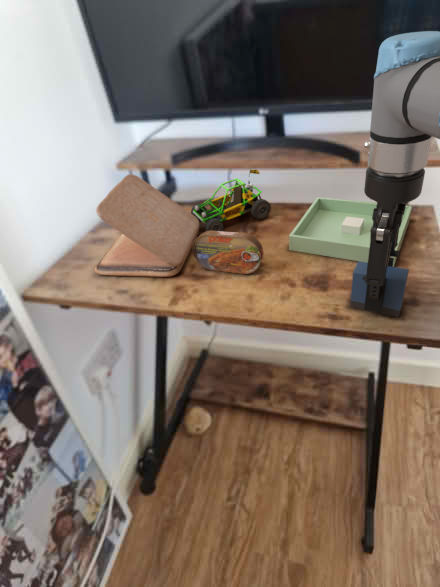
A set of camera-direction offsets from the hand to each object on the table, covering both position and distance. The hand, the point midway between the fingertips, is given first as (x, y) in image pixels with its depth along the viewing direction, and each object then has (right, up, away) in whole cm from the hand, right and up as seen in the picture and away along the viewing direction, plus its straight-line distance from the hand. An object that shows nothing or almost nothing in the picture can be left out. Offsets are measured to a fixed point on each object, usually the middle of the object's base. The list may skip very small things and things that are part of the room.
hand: (376, 298), depth 69 cm
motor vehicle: (-24, +20, +34) cm, 46 cm away
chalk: (+3, +15, +21) cm, 26 cm away
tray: (+2, +14, +20) cm, 25 cm away
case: (-43, +10, +25) cm, 51 cm away
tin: (-25, +6, +16) cm, 30 cm away
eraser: (0, -1, +1) cm, 2 cm away
